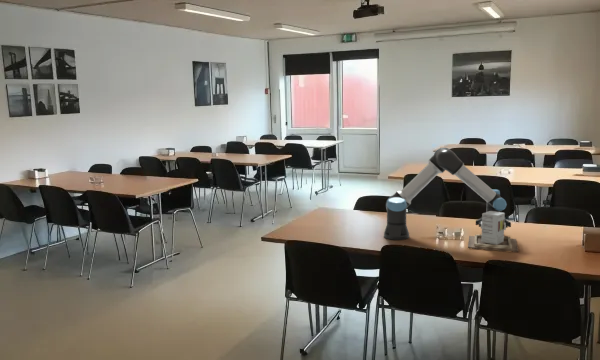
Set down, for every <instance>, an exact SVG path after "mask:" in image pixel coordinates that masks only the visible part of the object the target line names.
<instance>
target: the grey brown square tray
mask: <svg viewBox="0 0 600 360" xmlns="http://www.w3.org/2000/svg"><path fill="white" fill-rule="evenodd" d="M481 238H482V234H474V235H469V236H468V243H467V249H468V248H472V249H471V250H479V249H485V250H484V251H493V250H499V251H498V252H506V251H513V252H512V253H519V247H518V242H517V238H511V237H510V236H505V235H504V242H502V243H499V244H497V245H495V244H489V243H484V242H481Z"/></svg>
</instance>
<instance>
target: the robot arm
mask: <svg viewBox="0 0 600 360" xmlns="http://www.w3.org/2000/svg"><path fill="white" fill-rule="evenodd" d="M445 171H446V172H448V173H449V174H450V175H452V176H456V177H457V178H458V179H459V180H460V181H461V182H462V183H464V184H466V185H467V186H468V187H469V188H470V189H471V190H472V191H473V192H475V193H476V194H477V195H478V196H480V198H482V199H483V200H484V201H485V202H486V211H485V212H488V211H495V212H502V211H504V210H505V209H506V208H507V205H508V203H507V201H506V199H504V197H501V191H500V189H496V188H495V189H492V188H491V187H490V186H489V185H488V184H486V183H485V182H484V181H483V180H482V179H481V178H480V177H478V176H477V175H476V174H475V173H473V172H472V171H471V170H470V169H469V168H468V167H466V166H465V162H463V161H462V160H461V159H460V158H459V157H458V156H457V154H456V153H455V152H454V151H453V150H451V149H450V148H447V147H441V148H438V149H436V150H435V151H434V153H433V155H432V156H431V157H430V158H429V159H428V164H427V165H426V166H424V168H423V169H422V170H421V171H419V172H418V173H417V175H416V176H414V177H413V179H411V180H410V181H409V182H408V183H407V184H406V185H405V186H404V187H403V188H402V189H401V190H397V191H396V192H395V193H394V194H392V195H391V196H389V197H388V198H387V200H386V202H385V209H386V226H385V229H384V232H383V238H385V239H388V240H390V241H391V240H393V241H402V240H403V241H405V240H408V239H409V238H410V232H409V229H408V226H407V208H408V207H409V206H411V204H412V200H413V199H414V198H415V197H416V196H417V195H418V194H419V193H420V192H421V191H422V190H423V189H424V188H425V187H427V186H428V185H429V183H430V182H431V181H433V180H434V179H435V177H436V176H437V175H439V174H443V173H444V172H445ZM475 225H476V226H478V228H480V229H481V230H482V217H480V218H478V219H477V220H475ZM511 227H512V222H511V221H509V220H508V219H506V218H505V219H504V231H506V230H507V228H511Z"/></svg>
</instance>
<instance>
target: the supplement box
mask: <svg viewBox="0 0 600 360" xmlns="http://www.w3.org/2000/svg"><path fill="white" fill-rule="evenodd" d="M481 215H482V216H481V218H482V229H481V235H482V238H481V242H484V243H489V244H495V245H497V244H499V243H502V242H504V236H505V230H504V219H506V217H505V215H506V213H505V212H502V211H499V212H495V211H488V212H486V211H485V212H483V213H481Z"/></svg>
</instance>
